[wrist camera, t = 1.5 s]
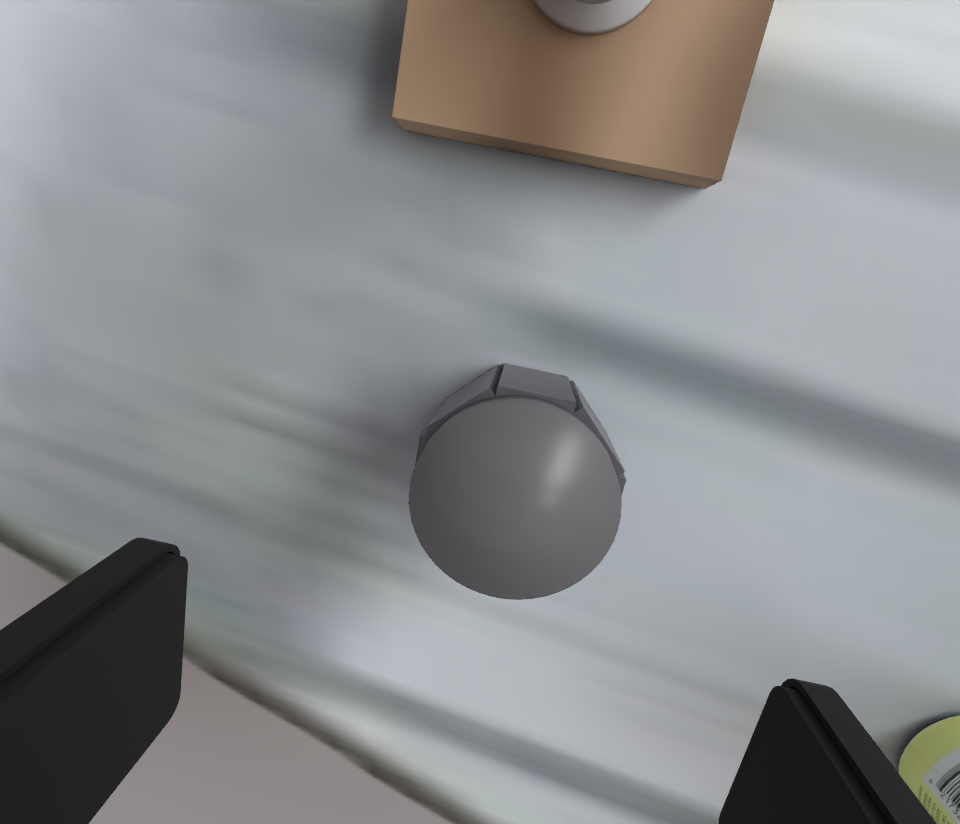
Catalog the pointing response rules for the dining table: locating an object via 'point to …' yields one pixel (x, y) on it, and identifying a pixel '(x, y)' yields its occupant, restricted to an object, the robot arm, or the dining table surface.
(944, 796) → the tube
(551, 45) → the stud block
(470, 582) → the cap
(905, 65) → the dining table surface
